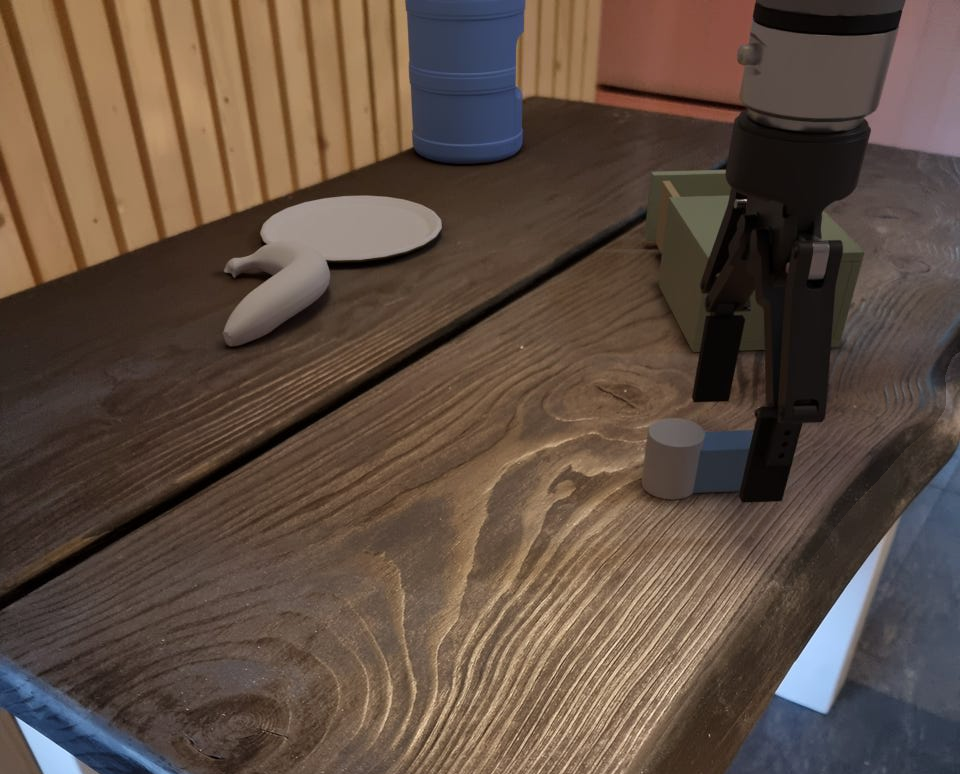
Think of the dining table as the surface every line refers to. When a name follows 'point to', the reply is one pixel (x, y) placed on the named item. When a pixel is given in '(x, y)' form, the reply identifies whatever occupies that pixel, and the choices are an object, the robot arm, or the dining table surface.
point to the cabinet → (686, 261)
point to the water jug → (465, 79)
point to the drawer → (678, 195)
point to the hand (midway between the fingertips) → (733, 446)
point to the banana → (276, 289)
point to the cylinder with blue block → (693, 459)
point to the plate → (355, 227)
